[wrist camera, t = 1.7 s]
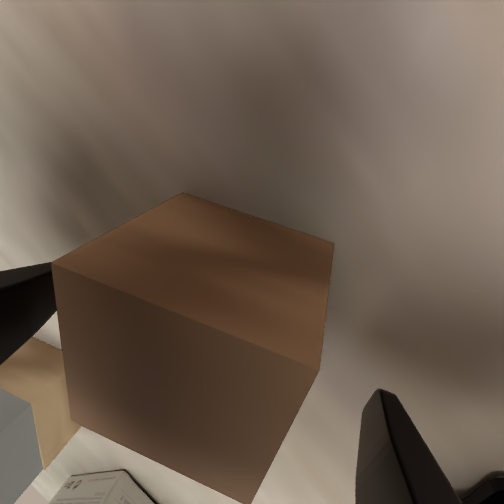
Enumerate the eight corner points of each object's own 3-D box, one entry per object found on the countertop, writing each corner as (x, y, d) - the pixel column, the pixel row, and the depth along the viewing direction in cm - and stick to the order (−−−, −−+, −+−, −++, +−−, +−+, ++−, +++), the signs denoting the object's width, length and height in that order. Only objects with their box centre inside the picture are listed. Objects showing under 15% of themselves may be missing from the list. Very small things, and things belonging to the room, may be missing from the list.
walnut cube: (334, 242, 9) (319, 369, 5) (287, 355, 11) (249, 506, 7) (183, 191, 10) (50, 262, 5) (169, 308, 12) (71, 420, 8)
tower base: (83, 354, 16) (31, 403, 13) (87, 419, 19) (44, 470, 16) (-10, 311, 16) (-77, 350, 14) (7, 380, 19) (-45, 422, 17)
